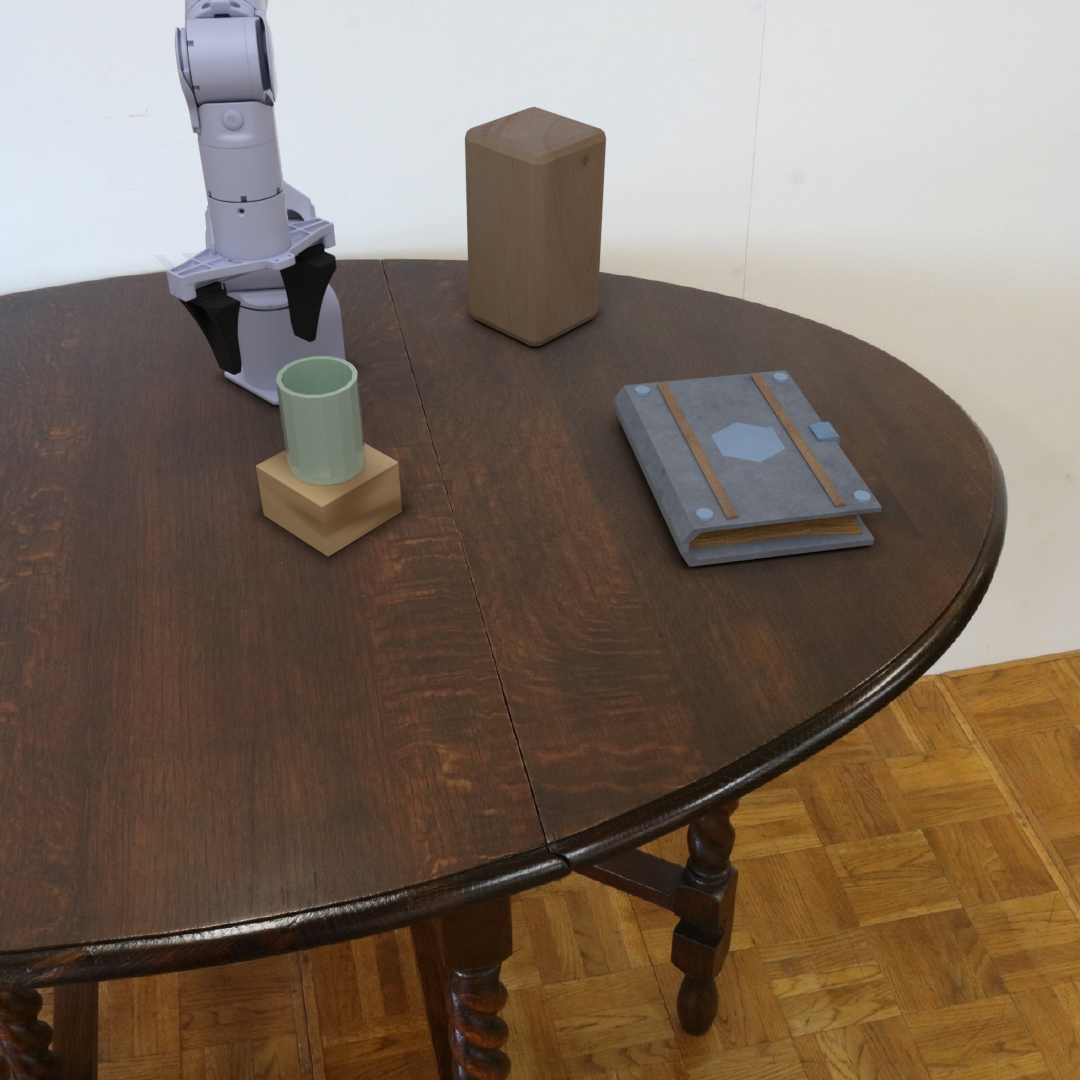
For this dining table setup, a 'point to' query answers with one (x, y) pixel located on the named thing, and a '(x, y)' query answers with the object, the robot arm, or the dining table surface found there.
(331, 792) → the dining table surface
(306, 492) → the block
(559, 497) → the dining table surface
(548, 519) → the dining table surface
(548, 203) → the wooden block
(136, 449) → the dining table surface
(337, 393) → the cup
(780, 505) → the book
